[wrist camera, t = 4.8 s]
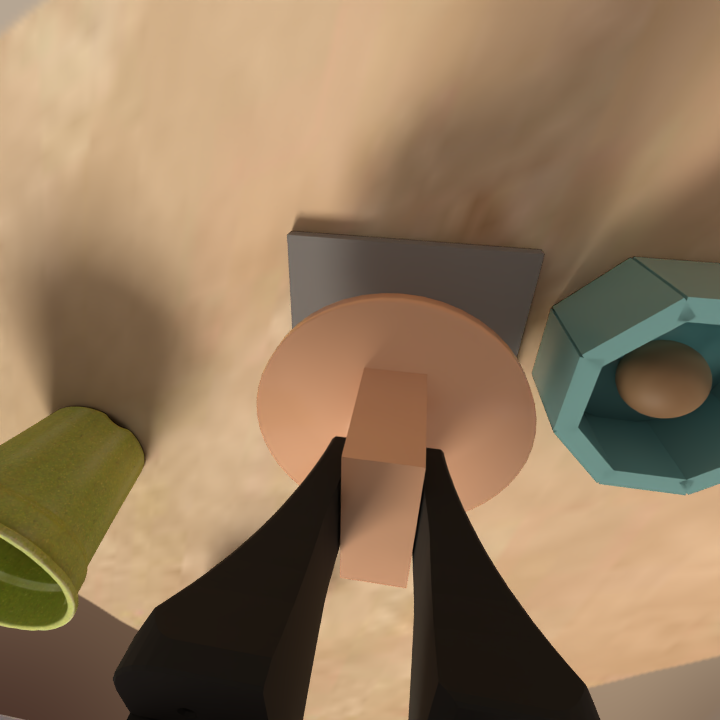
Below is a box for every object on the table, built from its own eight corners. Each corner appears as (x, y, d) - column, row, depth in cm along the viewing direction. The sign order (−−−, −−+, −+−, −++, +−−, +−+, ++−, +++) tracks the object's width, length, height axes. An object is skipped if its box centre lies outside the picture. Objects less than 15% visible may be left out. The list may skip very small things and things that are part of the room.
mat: (541, 249, 16) (544, 254, 16) (490, 442, 21) (491, 450, 21) (291, 231, 17) (287, 234, 17) (300, 418, 22) (297, 426, 22)
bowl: (795, 268, 15) (899, 314, 12) (696, 434, 19) (752, 503, 16) (567, 251, 16) (604, 289, 13) (519, 414, 20) (537, 475, 17)
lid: (567, 307, 12) (635, 408, 8) (499, 520, 17) (519, 648, 13) (251, 280, 13) (171, 358, 9) (274, 489, 18) (229, 598, 14)
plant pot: (144, 383, 23) (8, 513, 16) (189, 501, 28) (102, 643, 20) (-2, 377, 24) (-189, 494, 17) (65, 490, 29) (-58, 619, 22)
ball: (699, 330, 16) (748, 371, 14) (667, 392, 18) (706, 439, 15) (618, 322, 17) (652, 361, 14) (594, 384, 18) (620, 429, 16)
